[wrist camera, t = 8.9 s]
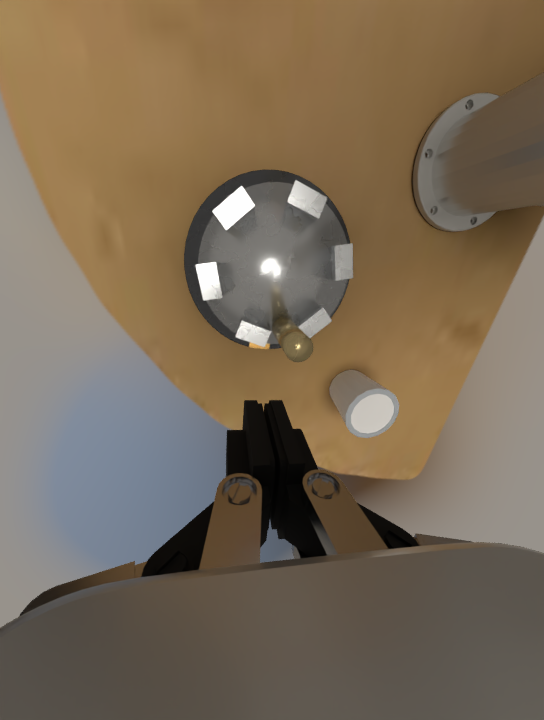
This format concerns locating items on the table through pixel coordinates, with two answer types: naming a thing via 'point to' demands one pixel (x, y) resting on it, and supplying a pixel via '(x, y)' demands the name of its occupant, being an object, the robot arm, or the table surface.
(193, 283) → the dark grey round base
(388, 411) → the grey white-topped cylinder
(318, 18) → the table surface
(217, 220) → the grey tabbed disc
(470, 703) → the robot arm
